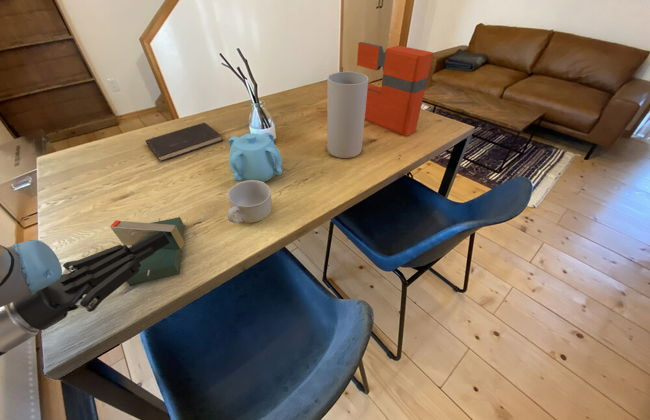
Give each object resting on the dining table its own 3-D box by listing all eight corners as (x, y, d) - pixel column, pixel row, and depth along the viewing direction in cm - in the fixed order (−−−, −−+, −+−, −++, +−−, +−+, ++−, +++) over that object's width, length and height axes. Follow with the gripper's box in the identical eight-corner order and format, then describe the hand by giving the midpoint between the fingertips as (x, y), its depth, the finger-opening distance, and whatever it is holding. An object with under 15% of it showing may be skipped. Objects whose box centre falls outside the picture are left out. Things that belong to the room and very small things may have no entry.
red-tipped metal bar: (185, 243, 64) (175, 224, 60) (180, 249, 63) (170, 230, 58) (128, 238, 65) (115, 219, 61) (123, 244, 64) (109, 226, 60)
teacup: (255, 196, 81) (250, 174, 76) (282, 211, 76) (279, 188, 71) (216, 224, 73) (208, 201, 67) (244, 242, 68) (237, 219, 63)
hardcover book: (222, 140, 107) (221, 135, 105) (160, 162, 95) (158, 156, 94) (205, 127, 115) (203, 121, 114) (147, 145, 104) (144, 139, 103)
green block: (198, 273, 61) (193, 264, 59) (107, 295, 58) (98, 286, 55) (200, 219, 74) (196, 210, 72) (125, 234, 70) (119, 225, 68)
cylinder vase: (367, 148, 102) (375, 76, 85) (349, 163, 94) (354, 87, 78) (339, 138, 107) (342, 69, 90) (320, 152, 100) (319, 79, 83)
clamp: (354, 105, 132) (359, 36, 113) (418, 129, 113) (437, 51, 94) (340, 111, 127) (343, 40, 108) (405, 136, 108) (422, 56, 89)
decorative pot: (282, 158, 97) (277, 121, 88) (284, 185, 85) (279, 146, 76) (235, 162, 95) (225, 125, 86) (230, 190, 83) (218, 150, 74)
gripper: (35, 301, 52) (160, 233, 65) (50, 350, 45) (186, 264, 58) (3, 279, 47) (146, 210, 60) (16, 330, 40) (173, 241, 53)
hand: (166, 237), depth 59 cm, fingers closed
